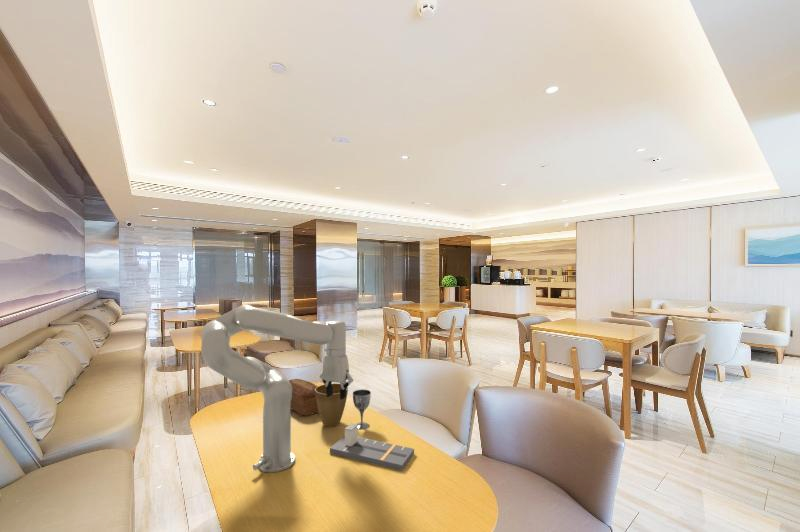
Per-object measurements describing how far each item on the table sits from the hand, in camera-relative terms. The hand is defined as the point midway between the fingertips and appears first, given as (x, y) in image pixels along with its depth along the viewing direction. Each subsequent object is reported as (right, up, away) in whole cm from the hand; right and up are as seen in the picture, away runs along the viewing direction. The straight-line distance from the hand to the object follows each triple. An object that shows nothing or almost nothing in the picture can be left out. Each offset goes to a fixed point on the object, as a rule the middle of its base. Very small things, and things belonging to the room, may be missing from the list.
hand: (336, 396), depth 140 cm
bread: (-25, -20, +39) cm, 50 cm away
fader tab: (+7, -17, -3) cm, 18 cm away
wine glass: (+8, -20, +17) cm, 27 cm away
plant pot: (-6, -20, +20) cm, 29 cm away
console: (+15, -20, -6) cm, 25 cm away
